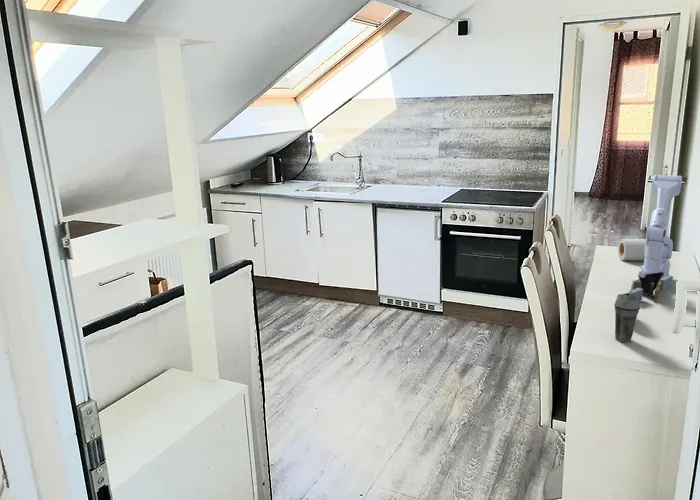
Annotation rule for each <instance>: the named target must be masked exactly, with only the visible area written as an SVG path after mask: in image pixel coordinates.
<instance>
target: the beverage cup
mask: <svg viewBox="0 0 700 500" xmlns="http://www.w3.org/2000/svg"><path fill="white" fill-rule="evenodd" d="M635 281H636V280H634V279H633V280H632V283H631V287H630V290H629V291H630V294H629V292H625V293H621V294H622V295H620V296H619V297H618V298H617V297H616V300H615V302H614V313H615V316H614V317H615V319H614V320H615V323H614V325H615V326H614V334H615V337H614V339H615V341H617V342H619V343H624V344H627V343H628V344H629V343H631V341H632V338H633V335H634V329H635V326H636V321H637V319H638V314H639V312H640V309H641V307H640V305H641V304H640V301H638V299H637V298H636V297H635V296H634V295H632V290H633V286H634V282H635Z"/></svg>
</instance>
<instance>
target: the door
mask: <svg viewBox="0 0 700 500" xmlns="http://www.w3.org/2000/svg"><path fill="white" fill-rule="evenodd" d="M661 282H662V281H661V280H659V282H658V284H657V287H656V289H655V290H654V294H653V297H654V298H653V302H654V303H657V301H658V300H659V296H660V293H661V291H660V289H661Z"/></svg>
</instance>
